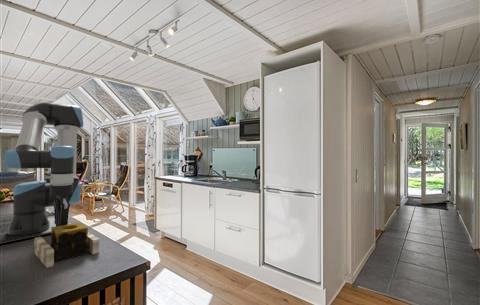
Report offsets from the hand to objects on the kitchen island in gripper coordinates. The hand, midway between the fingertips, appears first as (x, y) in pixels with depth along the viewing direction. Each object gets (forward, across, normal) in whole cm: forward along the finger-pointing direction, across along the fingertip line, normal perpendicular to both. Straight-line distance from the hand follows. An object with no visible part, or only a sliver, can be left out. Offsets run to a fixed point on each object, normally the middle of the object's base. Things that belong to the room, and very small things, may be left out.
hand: (60, 242), depth 96 cm
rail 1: (+2, +7, -7) cm, 10 cm away
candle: (+2, +9, +1) cm, 9 cm away
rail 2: (+2, +7, +7) cm, 10 cm away
